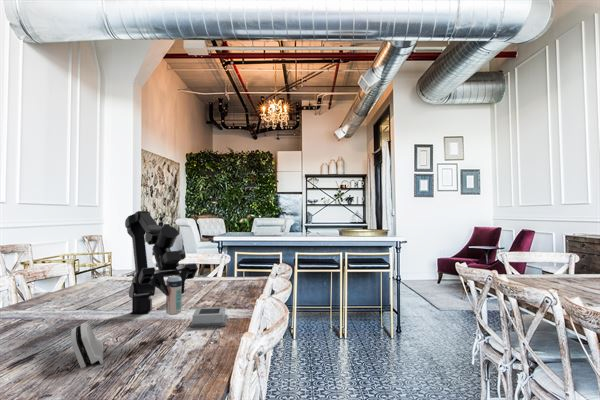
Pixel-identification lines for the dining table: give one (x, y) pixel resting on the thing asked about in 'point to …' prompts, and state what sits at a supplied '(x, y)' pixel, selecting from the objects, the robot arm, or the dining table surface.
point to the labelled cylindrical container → (174, 295)
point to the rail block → (209, 317)
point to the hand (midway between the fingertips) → (175, 294)
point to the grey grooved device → (86, 345)
